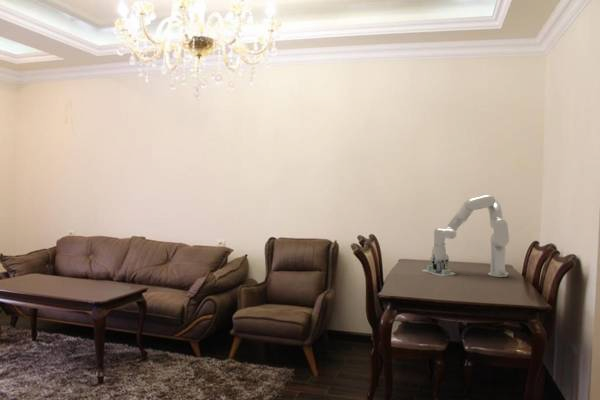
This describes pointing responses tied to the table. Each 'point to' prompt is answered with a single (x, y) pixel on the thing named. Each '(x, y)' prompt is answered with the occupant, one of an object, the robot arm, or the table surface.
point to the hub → (439, 266)
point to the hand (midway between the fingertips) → (438, 268)
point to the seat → (439, 273)
